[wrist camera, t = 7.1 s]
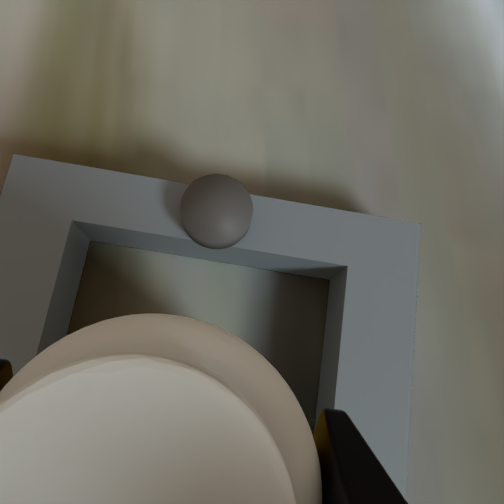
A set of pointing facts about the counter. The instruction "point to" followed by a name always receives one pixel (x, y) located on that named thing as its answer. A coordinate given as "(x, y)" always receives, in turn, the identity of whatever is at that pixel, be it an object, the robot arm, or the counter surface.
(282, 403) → the supplement bottle
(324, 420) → the robot arm
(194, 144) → the counter surface
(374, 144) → the counter surface
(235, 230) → the housing cradle
